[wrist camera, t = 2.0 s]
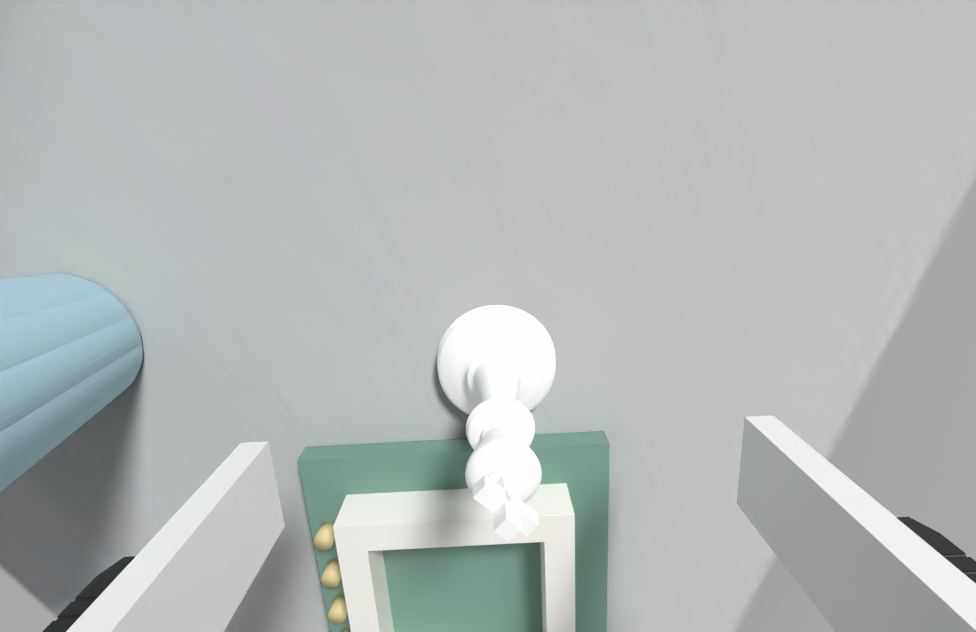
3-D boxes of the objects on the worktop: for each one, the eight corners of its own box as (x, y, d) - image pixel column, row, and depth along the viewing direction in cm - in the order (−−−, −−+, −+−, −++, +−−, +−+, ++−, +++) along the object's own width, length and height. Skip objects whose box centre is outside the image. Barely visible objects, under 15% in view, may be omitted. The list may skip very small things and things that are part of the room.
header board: (305, 447, 22) (278, 490, 19) (603, 431, 22) (622, 471, 19) (346, 671, 25) (328, 735, 22) (600, 658, 25) (615, 721, 22)
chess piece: (502, 436, 22) (517, 650, 12) (412, 368, 21) (351, 542, 11) (580, 355, 20) (664, 518, 11) (489, 280, 20) (494, 386, 10)
